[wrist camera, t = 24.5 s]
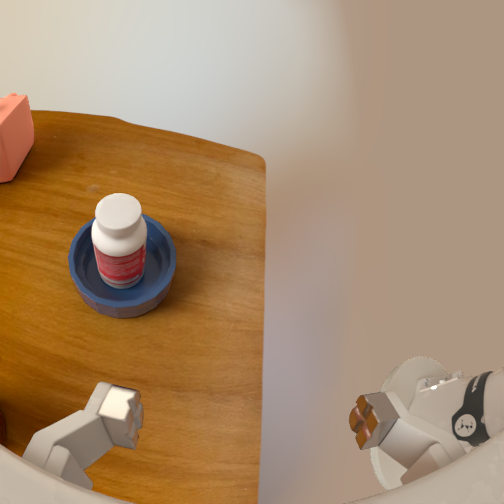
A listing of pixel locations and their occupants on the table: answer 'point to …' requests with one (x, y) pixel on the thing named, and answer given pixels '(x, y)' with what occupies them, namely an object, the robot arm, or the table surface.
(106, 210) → the pill bottle
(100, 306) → the bowl
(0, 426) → the mug
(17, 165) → the teapot
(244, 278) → the table surface
